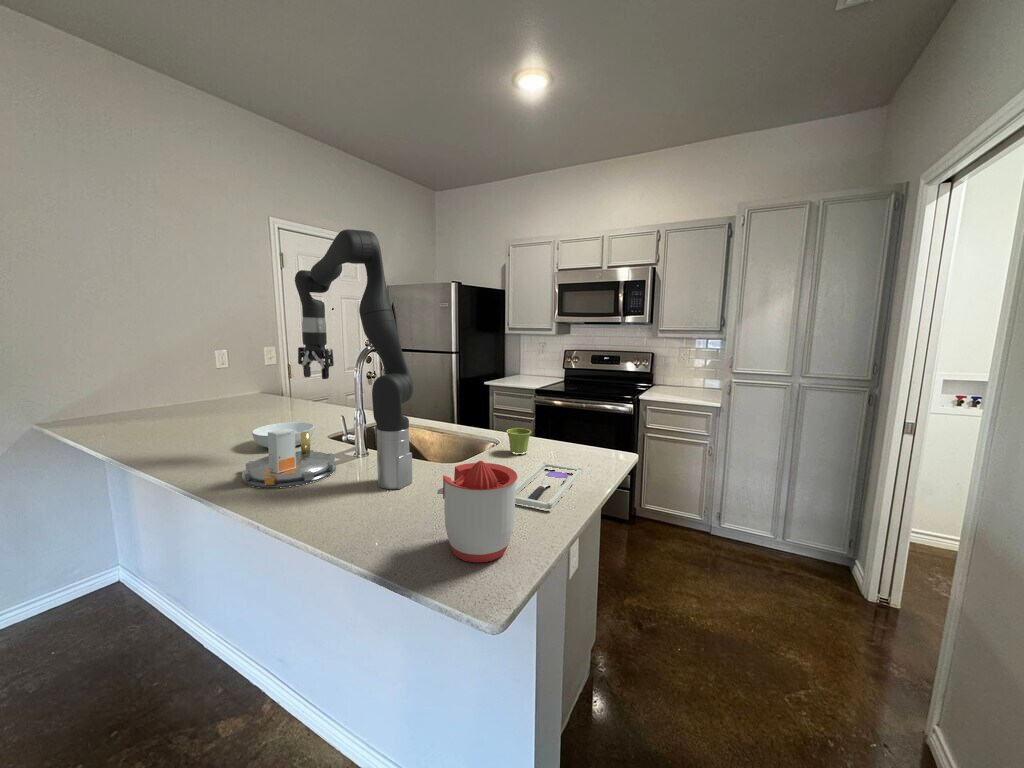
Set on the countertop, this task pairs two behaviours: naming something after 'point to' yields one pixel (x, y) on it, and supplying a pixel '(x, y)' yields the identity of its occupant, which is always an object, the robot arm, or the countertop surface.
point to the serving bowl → (262, 432)
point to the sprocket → (305, 469)
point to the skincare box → (281, 450)
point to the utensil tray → (555, 498)
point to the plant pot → (518, 439)
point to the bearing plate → (287, 484)
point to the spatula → (542, 488)
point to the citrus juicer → (479, 510)
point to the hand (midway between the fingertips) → (316, 378)
